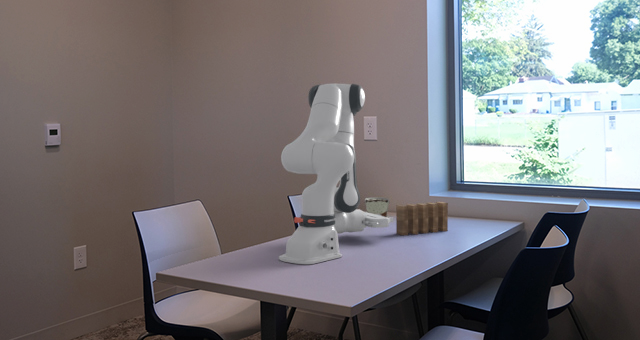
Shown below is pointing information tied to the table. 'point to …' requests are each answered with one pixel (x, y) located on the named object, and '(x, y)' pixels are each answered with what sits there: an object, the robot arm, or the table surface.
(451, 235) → the table surface
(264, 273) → the table surface
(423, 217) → the domino
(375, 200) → the food container
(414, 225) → the domino
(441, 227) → the domino
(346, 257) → the table surface
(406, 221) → the domino
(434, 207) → the domino
